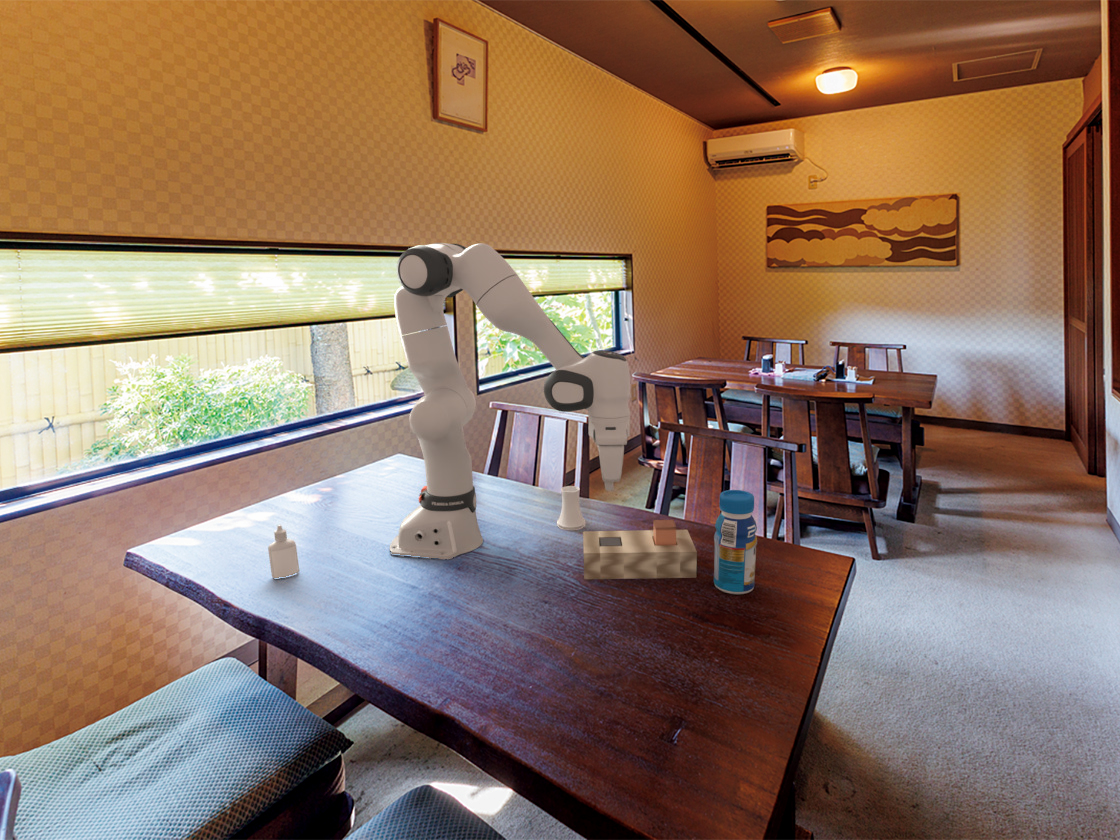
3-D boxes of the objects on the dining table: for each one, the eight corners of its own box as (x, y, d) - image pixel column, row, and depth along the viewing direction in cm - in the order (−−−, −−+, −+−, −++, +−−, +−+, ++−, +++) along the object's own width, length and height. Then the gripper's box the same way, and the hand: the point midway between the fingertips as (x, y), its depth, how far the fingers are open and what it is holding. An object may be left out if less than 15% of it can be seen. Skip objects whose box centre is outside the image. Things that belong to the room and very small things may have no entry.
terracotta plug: (655, 551, 138) (655, 527, 137) (653, 543, 143) (653, 520, 141) (676, 550, 138) (676, 527, 137) (673, 542, 142) (673, 519, 141)
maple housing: (584, 579, 136) (583, 553, 135) (583, 555, 148) (583, 531, 146) (696, 577, 135) (696, 551, 134) (686, 553, 147) (687, 529, 146)
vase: (559, 519, 170) (557, 484, 168) (586, 520, 169) (586, 484, 167) (555, 530, 163) (553, 493, 161) (584, 530, 162) (583, 493, 160)
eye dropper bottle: (295, 579, 140) (289, 528, 138) (269, 580, 140) (262, 530, 137) (301, 570, 144) (295, 521, 142) (276, 572, 144) (269, 522, 141)
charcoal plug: (601, 569, 140) (600, 545, 138) (600, 560, 144) (600, 537, 143) (621, 568, 139) (621, 545, 138) (619, 560, 144) (619, 537, 142)
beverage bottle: (705, 579, 134) (708, 490, 130) (742, 574, 136) (745, 486, 132) (724, 598, 126) (727, 503, 122) (763, 592, 128) (767, 499, 124)
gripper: (593, 416, 145) (593, 474, 148) (595, 439, 125) (596, 505, 128) (620, 416, 145) (620, 474, 148) (627, 438, 125) (627, 505, 128)
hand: (609, 488), depth 138 cm, fingers closed
